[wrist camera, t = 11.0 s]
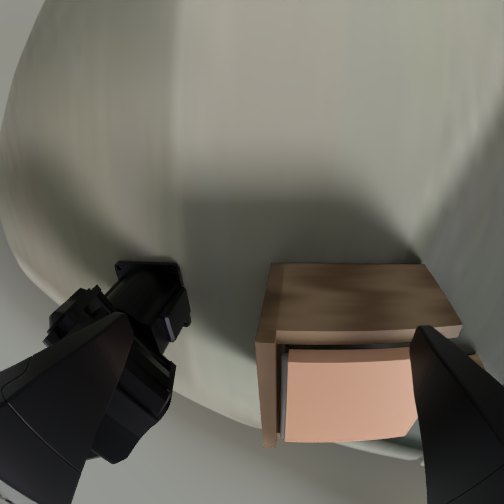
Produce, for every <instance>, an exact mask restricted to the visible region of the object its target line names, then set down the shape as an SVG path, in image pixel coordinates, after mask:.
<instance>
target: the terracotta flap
mask: <svg viewBox="0 0 504 504" xmlns="http://www.w3.org/2000/svg"><path fill="white" fill-rule="evenodd" d="M409 348H410V347H400V348H383V349H356V350H299V349H289V353H285V354H283V355H282V357H281V423H280V437H281V438H282V439H285V442H349V441H364V440H375V439H385V438H393V437H401V436H405V435H406V434H407V432H408V431H409V429H410V428H411V427H412V425H413V424H414V422H415V421H416V419H417V418H418V415H417V410H416V404H415V399H414V391H413V381H412V371H411V363H410V355H409Z"/></svg>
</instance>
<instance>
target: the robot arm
mask: <svg viewBox="0 0 504 504" xmlns="http://www.w3.org/2000/svg"><path fill="white" fill-rule="evenodd" d="M119 266H120V267H121V268H120V267H119ZM172 268H174V269H175V271H174V270H172ZM115 270H116V274H117V277H118V281H117V282H116V283H115V284H114V285H113V286H112V288H111V289H110V290H109V291H108V292H107V293H106V294H105V295H104V294H103V293H102V292H101V289H100V287H99V286H98V285H96V286H95V287H94V288H93V289H92V290H90V288H89V289H88V290H85V289H82V288H80V289H78V290H77V291H76V292H75V293H74V294H73V295H72V296H71V297H70V298H69V299H68V300H67V301H66V302H65V303H63V304H62V305H61V306H60V307H59V308H58V309H57V310H56V311H54V312H53V313H52V314H51V315H50V317H49V330H48V331H47V333H48V336H47V337H46V338H45V339H44V340H43V343H44V344H45V345H46V346H47V348H46V349H44V350H42V351H40V352H38V353H36V354H34V355H33V356H31V357H29V358H27V359H25V360H23V361H21V362H19V363H17V364H16V365H13V366H11V367H10V368H7V369H5V370H3V371H1V372H0V504H71V502H72V499H73V496H74V493H75V490H76V487H77V484H78V482H79V478H80V476H81V472H82V470H83V467H84V464H85V461H86V460H89V459H94V458H99V457H102V458H103V459H105V460H107V461H108V462H110V463H111V464H116V463H118V462H120V461H122V460H124V459H126V458H127V457H128V456H129V454H130V453H131V451H132V449H133V448H134V447H135V445H136V444H137V443H138V441H139V440H140V438H141V437H142V436H143V435H144V434H145V433H146V432H147V431H148V430H149V429H150V428H151V427H152V426H154V425H155V424H156V423H157V422H158V421H159V420H160V419H161V418H162V417H163V416H164V414H165V413H166V411H167V410H168V407H169V405H170V402H171V397H172V390H173V383H174V377H175V371H176V365H175V364H174V363H173V362H172V361H169V360H168V359H167V358H166V357H165V356H163V353H164V351H165V349H166V348H167V346H168V344H169V342H174V341H175V340H176V338H177V337H178V335H179V333H180V331H181V329H182V327H188V326H189V325H190V323H191V318H190V312H191V310H190V306H189V301H188V297H187V292H186V289H185V287H184V286H183V282H182V277H181V272H180V268H179V266H178V265H177V264H176V263H165V262H133V261H118V262H117V263H116V264H115ZM185 321H186V322H185ZM409 355H410V363H411V371H412V381H413V391H414V399H415V404H416V410H417V415H418V421H419V427H420V433H421V440H422V447H423V455H424V464H425V473H426V486H427V504H504V386H502V385H501V384H500V383H499V382H498V381H497V380H496V379H495V378H493V377H492V376H491V375H490V374H489V373H488V372H487V371H485V370H484V369H483V368H482V367H481V366H480V365H478V364H477V363H476V362H475V361H474V360H473V359H471V358H470V357H469V356H468V355H467V354H465V353H464V352H463V351H462V350H461V349H459V348H458V347H457V346H456V345H455V344H453V343H452V342H451V341H450V340H449V339H447V338H446V337H445V336H444V335H442V334H441V333H440V332H439V331H437V330H436V329H435V328H434V327H432V326H431V325H419V326H418V327H417V328H416V330H415V333H414V336H413V339H412V341H411V344H410V348H409Z"/></svg>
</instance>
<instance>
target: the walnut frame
mask: <svg viewBox="0 0 504 504" xmlns="http://www.w3.org/2000/svg"><path fill="white" fill-rule="evenodd" d="M419 325H431V326H432V327H434V328H435V329H436V330H437V331H439V332H440V333H441V334H442V335H444V336H445V337H446V338H447V339H449V338H457V337H458V335H459V333H460V330H461V328H462V326H463V324H462V322H461V321H460V319H459V317H458V316H457V314H456V312H455V311H454V309H453V307H452V306H451V304H450V302H449V301H448V299H447V298H446V296H445V294H444V293H443V291H442V290H441V288H440V287H439V285H438V284H437V282H436V281H435V279H434V278H433V276H432V275H431V273H430V272H429V270H428V269H427V267H426V266H425V264H298V263H272V264H271V269H270V274H269V279H268V284H267V288H266V293H265V298H264V302H263V307H262V312H261V316H260V321H259V326H258V330H257V335H256V339H255V350H256V362H257V374H258V386H259V398H260V410H261V421H262V432H263V444H264V447H273V448H275V447H276V442H277V438H281V437H280V423H281V357H282V355H283V354H285V344H301V345H357V344H385V343H403V342H411V341H412V339H413V336H414V333H415V330H416V328H417V327H418V326H419Z"/></svg>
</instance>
